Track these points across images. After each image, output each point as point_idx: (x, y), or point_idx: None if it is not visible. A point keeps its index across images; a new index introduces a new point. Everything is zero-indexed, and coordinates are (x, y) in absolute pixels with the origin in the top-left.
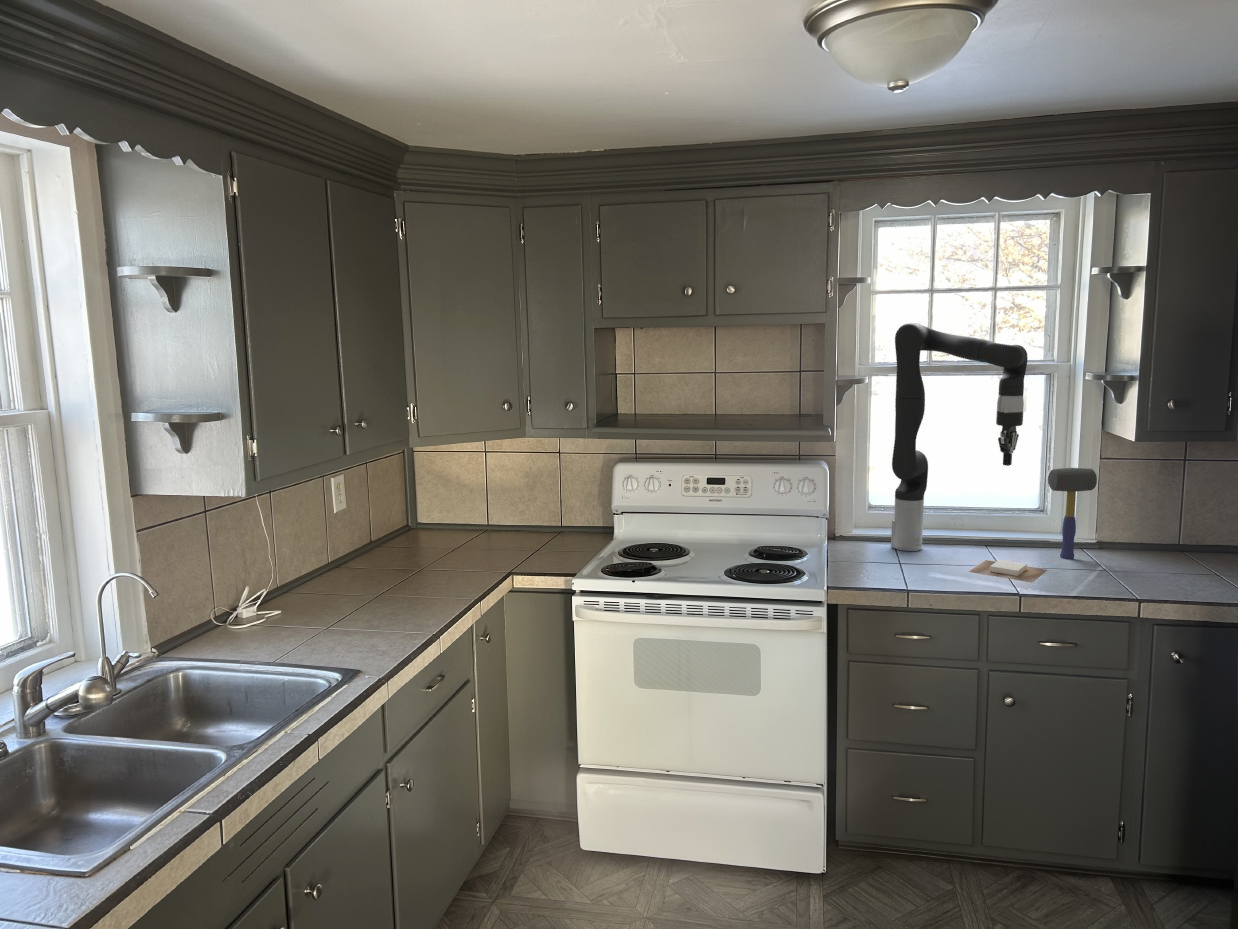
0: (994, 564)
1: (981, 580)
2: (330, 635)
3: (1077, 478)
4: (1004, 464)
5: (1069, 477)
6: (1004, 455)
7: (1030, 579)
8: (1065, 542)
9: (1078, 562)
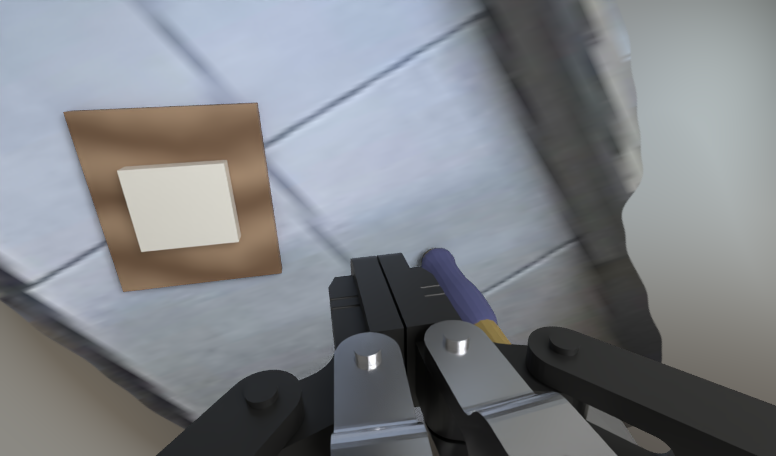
0: (150, 174)
1: (56, 165)
2: None
3: None
4: (351, 273)
5: None
6: (336, 345)
7: (147, 278)
8: (438, 282)
9: None
